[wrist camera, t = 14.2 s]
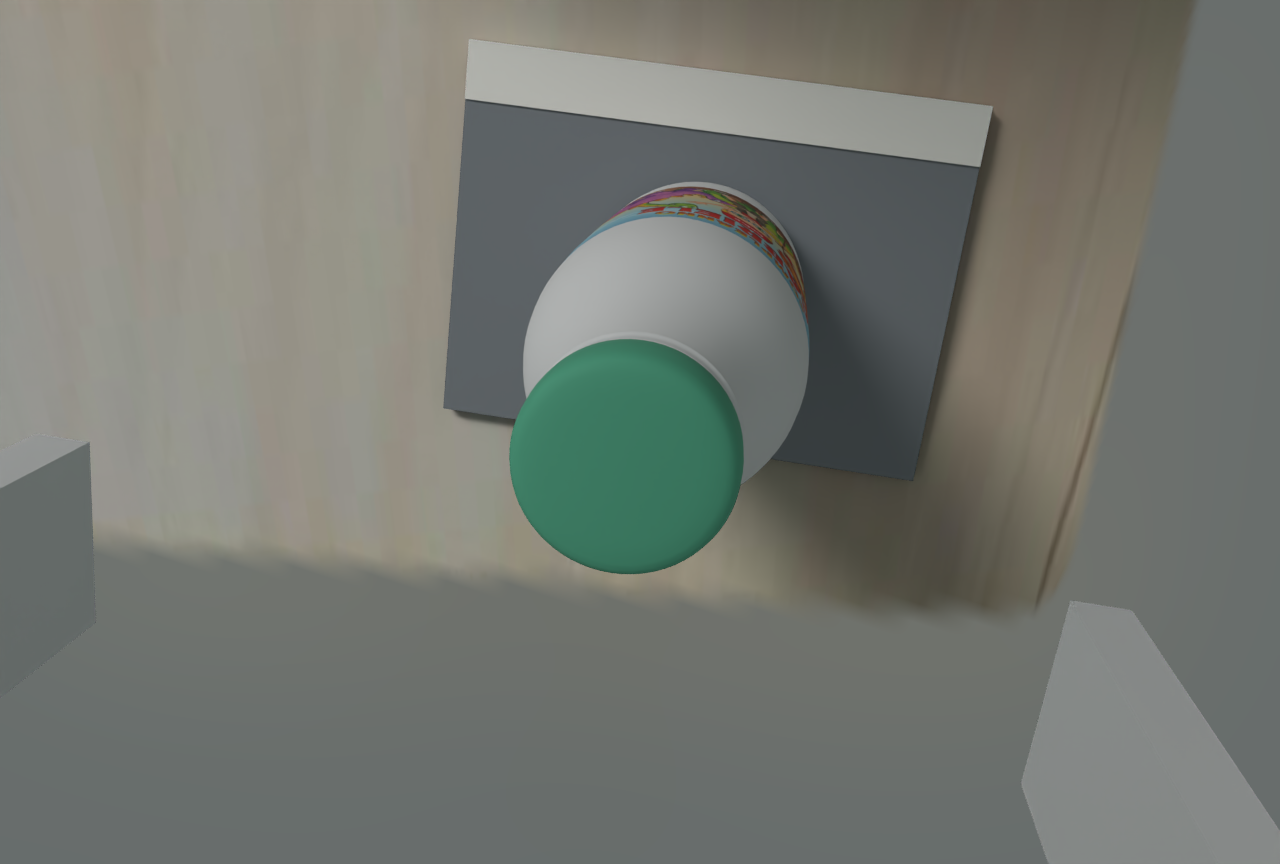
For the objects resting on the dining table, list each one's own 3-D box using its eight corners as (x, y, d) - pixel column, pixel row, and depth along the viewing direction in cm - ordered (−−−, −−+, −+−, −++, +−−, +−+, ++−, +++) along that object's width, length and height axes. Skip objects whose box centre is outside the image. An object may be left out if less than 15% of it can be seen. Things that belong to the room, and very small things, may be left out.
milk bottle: (761, 418, 41) (747, 702, 22) (565, 352, 41) (386, 580, 23) (834, 218, 39) (887, 348, 20) (625, 149, 39) (479, 214, 20)
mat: (447, 404, 43) (442, 409, 43) (474, 39, 39) (469, 38, 38) (911, 475, 42) (913, 481, 41) (989, 105, 38) (993, 106, 37)
